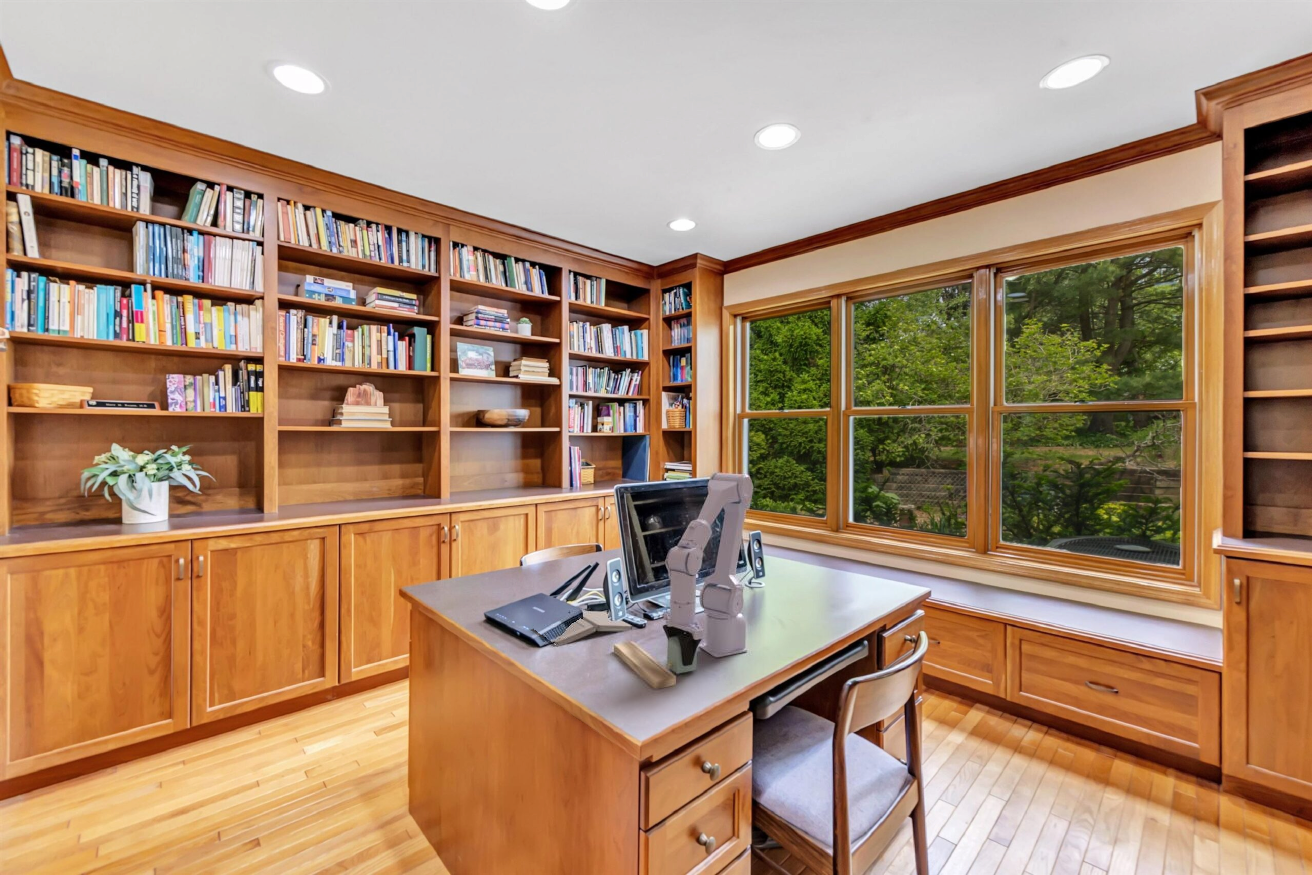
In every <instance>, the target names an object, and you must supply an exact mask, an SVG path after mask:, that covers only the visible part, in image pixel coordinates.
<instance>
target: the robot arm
mask: <svg viewBox="0 0 1312 875" xmlns="http://www.w3.org/2000/svg"><path fill="white" fill-rule="evenodd" d="M707 492H708V494H707V497H706V499H705V501H704V504H703V506H702V508H701V510H700V513H699V515H698V518H697V519H694V520H691V521H690V522H689V524H688V526H687V527H686V530H685V531H684V533H683V534H682V537H681V539H680V540H679V542H678V543H677V545H676V546H674V547H672V548H670V549H669V550H668V553H667V555H666V559H665V567H666V569H667V572H668V579H669V580H670V593H669V596H670V599H669V602H670V605H669V610H664V611H663V620H664V621H665V624H663V625H662V629H663V631H664V634H665V636H666V638H667V641H668V640H669V638H670V637H675V636H677V638H678V640H679V643H680V647H681V655H682V663H683V666H689V665H692V663H693V660H694V656H695V652H696V649H697V650H698V648H701V649H702V650H703V651H705V652H706V653H708V654H710V656H712V657H714V658H721V657H726V656H731V655H737V654H741V653H746V652H748V649H747V648H746V637H747V636H746V633H747V632H746V631H747V630H746V627H747V625H746V621H745V618H744V615H743V614H742V613H741V612H742V610H743V608H744V589H745V588H744V586H743V584H742V583H741V581H739V579H738V578H737V577H736V574H737V566H738V560H739V555H740V550H741V542H742V539H743V533H744V532H743V531H744V526H745V519H746V514H747V510H749V509H750V508H751V504H752V498H753V492H754V483H753V481H752V478H751V477H750V475H749V474H747V473H742V474H741V473H730V472H729V473H727V472H719V471H718V472H717V471H715V472H712V474H711V476H710V477H709V481H708V482H707ZM722 510H724V519H723V524H722V529H721V534H720V541H719V546H718V552H717V557H716V563H715V567H714V572H713V573H711V575H708V576H707V577H705V578H704V583H703V586H702V588H701V590H700V592H699V599H698V600H699V604H700V607H701V608H702V609H703V613H704V614H705V615H706V619H705V620H706V622H705V626H706V627H705V628H706V630H705V642H704V643H701V641H702V640H703V639H704V629H703V628H702V627H701V626H700V624H699V623H698V621H697V619H696V605H697V604H696V599H697V598H696V596H697V595H696V594H697V593H696V592H697V590H696V589H697V574H698V573H699V571H700V570H701V568H702V565H703V557H704V549H705V548H706V546H707V544H708V542H709V540H710V538H711V536H712V535H713V531H712V527H711V526H712V525H713V523H714V522H715V520H716V518H717V517H718V516H719V514H720V513H721V511H722ZM722 586H724V587H722ZM727 587H728V588H727Z"/></svg>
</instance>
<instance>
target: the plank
mask: <svg viewBox="0 0 1312 875" xmlns="http://www.w3.org/2000/svg"><path fill="white" fill-rule="evenodd" d="M613 652H614V653H615V654H616V655H617V656H618V657H619V658H620V659H621V660H622V661H623V662H624V663H625V664H627V666H629V667H630V668H631V669H632V670H633V671H634V672H635V673H637V675H639V676H640V677H641V678H642V679H643V680H644V681H646V683H647V684H648V685H649V686H651V687H652V688H653V689H654V690H659V689H663V688H667V687H671V686H676V685H677V676H676V675H675V674H673V673H672V672H671V671H670V670H669V669H668V668H667V667H665V666H664V665H662V664H661V663H660V662H659V661H658V660H657V659H655V658H654V657H653V656H652V655H650V654H649V653H648V652H646V651H645V650H644V649H643V648H642V647H640V646H639V645H638V644H637V643H636V642H634V641H632V640H631V641H626V642H620V643H614V644H613Z"/></svg>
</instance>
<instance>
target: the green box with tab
mask: <svg viewBox="0 0 1312 875" xmlns="http://www.w3.org/2000/svg"><path fill="white" fill-rule="evenodd" d="M697 650H698V648H697V649H696V652H695V656H694V660H693V663H692V665H689V666H683V663H682V655H681V647H680V643H679V640H678V638H677V636H675V637H670V638H669V640H668V639H667V651H666V653H667V654H666V657H667V660H666V662H667V663H666V668H669V669H670V670H672V672H674V673H675V674H677V675H678V674H683V673H688V672H692V671H696V670H697V662H698V661H697V660H698V659H697V658H698V657H697V656H698V655H697V653H698V652H697Z"/></svg>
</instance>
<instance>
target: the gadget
mask: <svg viewBox="0 0 1312 875" xmlns="http://www.w3.org/2000/svg"><path fill="white" fill-rule="evenodd" d="M582 611H583V619H581V618H580V619H579V620H577V621H576V622H574V623H572V624H571V625H570V626H569V627H568V628H567V629H566V631H565V632H564V633H563V634H562V635H561V636H558V637H557V639H555V640H554V642H555V644H556V645H554V646H555V647H561V646H565V645H567V644H571V643H572V642H574V641H577V640H579V639H581V638H584V637H586V636H588V635H590V634H593V633H595V632H596V631H597V632H626V631H630V630H632V628H633V625H631V624H629V623H628V622H625V621H623V620H622V619H620V621H611V620H609V618H608V614H609V613H608V612H606V611H596V610H595V611H594V610H593V611H592V610H591V611H590V610H582ZM607 613H608V614H607Z"/></svg>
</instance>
